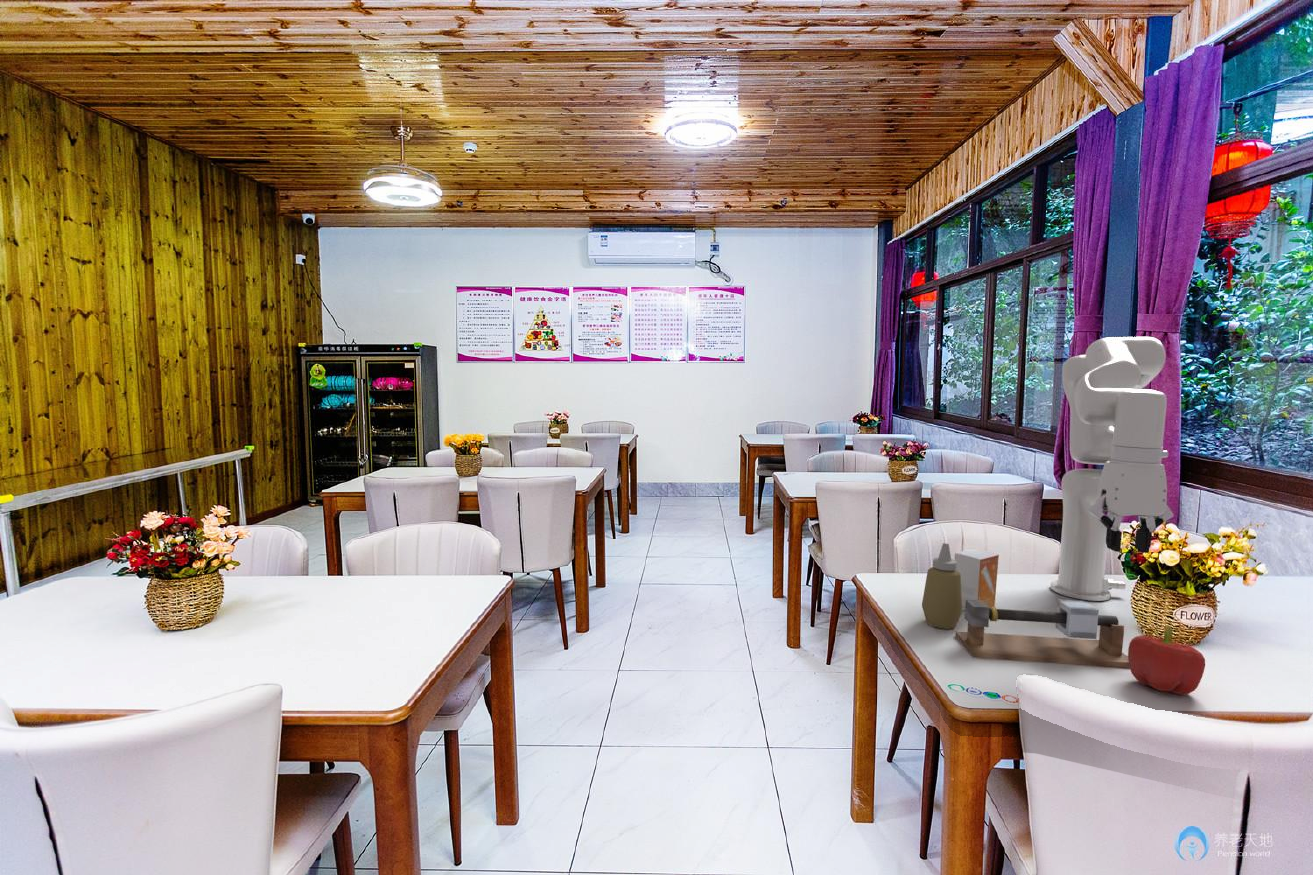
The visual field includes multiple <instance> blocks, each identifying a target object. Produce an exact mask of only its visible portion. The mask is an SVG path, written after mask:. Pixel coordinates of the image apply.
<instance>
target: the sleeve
mask: <svg viewBox="0 0 1313 875" xmlns="http://www.w3.org/2000/svg"><path fill="white" fill-rule="evenodd" d="M1099 610H1100V609H1098V608H1097V607H1095V606H1093V604H1090V603H1089V602H1087V600H1073V599H1057V605H1056V613H1067V623H1066V624H1064V623H1055V629H1057V630H1058V631H1059V632H1061V633H1062V634H1063V635H1064V636H1066V638H1072V639H1088V640H1097V635H1098V634H1097V632H1098V615H1099Z"/></svg>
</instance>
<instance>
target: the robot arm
mask: <svg viewBox="0 0 1313 875" xmlns="http://www.w3.org/2000/svg"><path fill="white" fill-rule="evenodd" d="M1165 363H1166V349H1165V347H1164V344H1163V343H1162V342H1161V340H1159V339H1157V338H1155V337H1152V336H1136V337H1135V336H1134V337H1133V336H1127V337H1126V336H1123V337H1121V336H1119V337H1118V336H1117V337H1116V336H1115V337H1114V336H1111V337H1103V338H1100V339H1097V340H1095V341H1093V342H1092V343H1090V345H1089V346H1088V347H1087V348H1086V350H1085V354H1080V355H1075V356H1071V357H1069V358H1068V359H1066V360H1065V361H1064V363H1063V366H1062V369H1061V370H1062V372H1061V381H1062V382H1061V383H1062V387H1063V391H1064V394H1065V396H1066V399H1067V402H1068V405H1069V409H1070V421H1069V422H1070V423H1069V426H1070V427H1069V453H1070V457H1071V459H1072V460H1073V461H1075V462H1077V463H1080V464H1088V465H1100V466H1101V465H1103V468H1102V469H1097V468H1096V469H1095V468H1076V469H1071V470H1069V471H1067V472H1066V473H1064V474H1063V476H1062V479H1061V495H1062V498H1061V499H1062V527H1061V540H1060V551H1059V554H1060V555H1059V566H1058V576H1057V577H1058V578H1057V579H1058V580H1054V581H1052V582H1050V589H1051V590H1052V591H1053V592H1055V593H1056V594H1059V595H1062V596H1065V597H1069V598H1072V599H1077V600H1081V601H1090V602H1103V601H1108V600H1110V599H1111V595H1112V593H1111V592H1110V591H1111V590H1112V589H1116V590H1125V589H1126V585H1127V584H1126V583H1125V581H1123V580H1122V581H1121V580H1117V581H1116V580H1115V581H1114V580H1113V579H1111V578H1107V577H1105V574H1106V564H1107V562H1106V561H1107V551H1108V549H1109V550H1111V551H1114V552H1116V553H1117V552H1118V553H1119V552H1120V551H1121V546H1122V545H1121V544H1122V536H1123V535H1122V534H1123V533H1122V531H1121V530H1120V526H1121V523H1122V521H1123V518H1124V517H1125V516H1127V517H1138V522H1139V528H1136V530H1135V538H1134V549H1136V550H1137V551H1139V552H1141V553H1144V554H1149V553H1150V548H1151V547H1152V537H1153V536H1152V535H1153V533H1155V532H1156V530H1157V529H1158V528H1159V527H1160V526H1161V525H1162V524H1163V523H1164V522H1167V521H1168V520H1170V519H1171V518H1173V517H1174V513H1173V511H1172V510H1171V508H1170V507H1169V506H1168V504H1167V500H1168V499H1167V497H1168V485H1167V483H1168V482H1167V474H1166V468H1165V465H1164V464H1162V462H1163V458H1164V459H1165V458H1168V457H1169V450H1164V447H1163V445H1164V436H1165V435H1164V434H1165V423H1166V417H1167V416H1166V414H1167V405H1168V404H1167V402H1168V398H1167V395H1166V394H1165V393H1164V392H1162V391H1157V390H1155V389H1148V388H1147V389H1145V387H1147V386H1148V385H1149V384H1150V382H1152V381H1153V380H1154V378H1156V377H1157V376H1158V375H1160V374H1159V373H1160V372H1161V371H1162V370H1163V368H1164V365H1165ZM1103 511H1104V512H1107V514H1105V513H1103ZM1109 590H1110V591H1109Z"/></svg>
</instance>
